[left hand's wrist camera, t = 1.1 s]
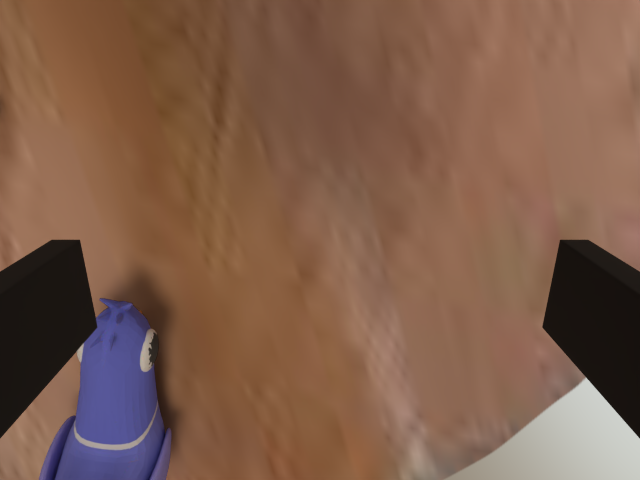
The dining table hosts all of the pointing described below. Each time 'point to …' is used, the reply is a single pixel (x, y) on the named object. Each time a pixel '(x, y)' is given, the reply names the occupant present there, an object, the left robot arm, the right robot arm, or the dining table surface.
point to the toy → (114, 406)
